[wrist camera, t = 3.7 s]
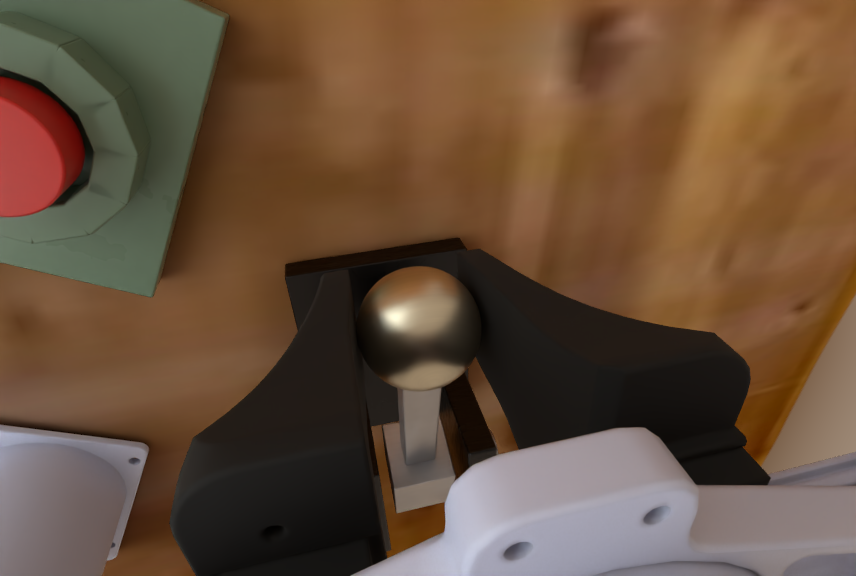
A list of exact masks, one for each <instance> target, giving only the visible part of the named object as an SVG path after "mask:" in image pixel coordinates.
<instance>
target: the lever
mask: <svg viewBox="0 0 856 576" xmlns="http://www.w3.org/2000/svg"><path fill="white" fill-rule="evenodd" d="M481 327H482V326H481V318H480V313H479V310H478V307H477V305H476V302H475V300H474V298H473V297H472V295H471V294H470V292H469V291H468V289H467V288H466V287H465V286H464V285H463V284H462V283H461V282H460V281H459V280H457V279H456V278H455V277H453V276H452V275H450V274H448V273H446V272H444V271H442V270H439V269H436V268H432V267H426V266H414V267H407V268H402V269H399V270H396V271H394V272H392V273H390V274H388V275H386V276H385V277H383V278H382V279H380V280H379V281H378V282H377V283H376V284H375V285H374V286H373V287H372V288H371V289H370V291H369V292H368V293H367V295H366V296H365V298H364V300H363V302H362V304H361V307H360V309H359V313H358V318H357V326H356V330H357V340H358V344H359V348H360V351H361V354H362V356H363V358H364V360H365V361H366V363H367V365H368V366H369V367H370V368H371V370H372V371H373V372H374V373H375V374H376V375H377V376H378V377H379V378H381V379H382V380H383V381H385V382H386V383H388V384H390V385H392V386H394V387H397V390H398V408H399V422H395V423H391V424H386V425H382V431H383V440H384V448H385V456H386V461H387V467H388V472H389V478H390V483H391V489H392V494H393V500H394V505H395V510H396V513H400V512H404V511H408V510H412V509H417V508H421V507H425V506H429V505H434V504H438V503H442V502H446V499H447V496H448V493H449V491H450V488H451V485H452V484H453V483H454V481H455V477H456V474H455V470H454V466H453V462H452V459H451V455H450V451H449V447H448V443H447V440H446V436H445V432H444V428H443V424H442V421H441V417H440V414H439V410H440V398H441V387H444V386H446V385H448V384H450V383H451V382H453V381H454V380H456V379H457V378H458V377H460V376H461V375H462V374H463V373H464V372H465V371H466V369H467V368H468V367H469V366H470V364H471V363H472V361H473V359H474V358H475V356H476V353H477V351H478V348H479V345H480V340H481Z"/></svg>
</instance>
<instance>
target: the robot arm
mask: <svg viewBox="0 0 856 576" xmlns="http://www.w3.org/2000/svg"><path fill="white" fill-rule="evenodd" d="M457 263H458V280H459V281H460V282H461V283H462V284H463V285H464V286H465V287H466V288H467V289H468V291H469V292H470V294H471V295H472V297H473V298H474V300H475V302H476V305H477V307H478V310H479V313H480V318H481V326H482V327H481V340H480V345H479V348H478V351H477V353H476V356H475V357H476V359H477V360H478V362H479V364H480V366H481V368H482V370H483V372H484V374H485V376H486V378H487V380H488V382H489V383H490V385H491V387H492V389H493V391H494V393H495V395H496V397H497V399H498V401H499V403H500V404H501V407H502V409H503V411H504V413H505V415H506V417H507V420H508V422H509V425H510V428H511V430H512V433H513V435H514V438H515V441H516V443H517V446H518V448H519V450H516V451H511V452H507V453H503V454H498V455H496V456H493V457H491V458H488V459H486V460H483V461H481V462H479V463H476V464H474V465H472V466H471V467H470V468H469V469H468V470H467V471H465V472H464V473H463V474H462V475H461V476H460V477H459V478H458V479H457V480H455V481H454V483H453V484H452V485H451V488H450V491H449V493H448V496H447V499H446V502H445V521H446V525H445V531H444V532H443V533H441V534H439V535H436V536H434V537H432V538H430V539H428V540H426V541H424V542H422V543H419V544H417V545H415V546H413V547H411V548H409V549H407V550H404V551H402V552H400V553H398V554H396V555H394V556H392V557H389V558H387V554H386V548H385V542H384V536H383V530H382V524H381V517H380V511H379V505H378V499H377V493H376V487H375V481H374V474H373V468H372V462H371V456H370V450H369V441H368V432H367V415H366V398H365V381H364V365H363V358H362V354H361V351H360V348H359V344H358V340H357V330H356V326H357V320H356V314H355V308H354V301H353V295H352V289H351V283H350V277H349V272H348V270H341V271H335V272H329V273H324V274H323V275H322V277H321V278H320V283H319V287H318V290H317V293H316V295H315V298H314V301H313V303H312V305H311V307H310V309H309V312H308V314H307V316H306V318H305V320H304V322H303V324H302V325H301V327H300V329H299V331H298V332H297V334H296V336H295V338H294V339H293V341H292V343H291V344H290V346H289V347H288V349H287V350H286V352H285V353H284V354H283V356H282V357H281V358H280V360H279V361H278V362H277V364H276V365H275V366H274V367H273V369H272V370H271V371H270V372H269V373H268V375H267V376H266V377H265V378H264V379H263V380H262V381H261V382H260V384H259V385H258V386H257V387H256V388H255V389H253V390H252V391H251V392H250V393H249V394H248V395H247V396H246V397H245V398H244V399H243V400H242V401H240V402H239V403H238V404H237V405H236V406H235V407H234V408H232V409H231V410H230V411H229V412H227V413H226V414H225V415H224V416H222V417H221V418H220V419H218V420H217V421H216V422H214V423H213V424H211V425H210V426H209V427H207V428H206V429H205V430H203V431H202V432H201V433H199V434H198V435H196V436H195V437H194V438H193V440H192V442H191V445H190V447H189V450H188V452H187V455H186V458H185V460H184V463H183V466H182V468H181V471H180V474H179V478H178V481H177V485H176V490H175V495H174V500H173V505H172V510H171V517H170V523H169V524H170V527H171V530H172V533H173V537H174V538H175V540H176V542H177V543H178V545H179V547H180V549H181V550H182V552H183V554H184V556H185V557H186V559H187V561H188V563H189V564H190V566H191V568H192V570H193V571H194V573H195V575H196V576H856V452H853V453H849V454H845V455H842V456H837V457H834V458H829V459H825V460H822V461H818V462H814V463H810V464H806V465H802V466H798V467H794V468H791V469H786V470H783V471H778V472H774V473H770V474H767V473H766V472H765V471H764V470H763V469H762V468H761V467H760V466H759V464H758V463H757V462H756V461H755V460H754V459H753V458H752V457H751V456H750V455H749V454H748V453H747V452H746V450H745V449H744V448H743V447H742V446H745V445H746V442H747V440H746V437H745V436H744V435H743V434H742V433H741V432H740V431H739V430H738V429H737V427H736V426H735V422H736V420H737V418H738V415H739V413H740V410H741V408H742V405H743V403H744V400H745V398H746V395H747V392H748V388H749V384H750V380H751V378H750V368H749V366H748V365H747V363H746V361H745V360H744V359H743V358H742V357H741V356H740V355H739V354H738V353H737V352H735V351H734V350H733V349H732V348H731V347H730V346H729V345H727V344H726V343H725V342H724V341H723V340H722V339H721V338H720V337H718V336H717V335H716V334H715V333H711V332H704V331H697V330H689V329H682V328H675V327H668V326H663V325H658V324H653V323H649V322H644V321H639V320H635V319H631V318H627V317H623V316H620V315H617V314H613V313H610V312H607V311H603V310H600V309H597V308H594V307H591V306H589V305H586V304H583V303H581V302H578V301H576V300H573V299H571V298H568V297H566V296H564V295H561V294H559V293H557V292H555V291H553V290H551V289H549V288H547V287H545V286H543V285H541V284H539V283H537V282H535V281H533V280H532V279H530V278H528V277H526V276H524V275H523V274H521V273H519V272H517V271H516V270H514V269H512V268H511V267H509V266H507V265H506V264H504V263H503V262H501V261H499V260H498V259H496V258H494V257H493V256H491V255H489V254H488V253H486V252H484V251H482V250H481V249H475V250H468V251H462V252H457ZM148 452H149V447H148V446H147V445H146V444H144V443H141V442H134V441H126V440H118V439H110V438H102V437H94V436H86V435H79V434H71V433H63V432H55V431H47V430H39V429H31V428H23V427H15V426H7V425H0V576H102V574H103V571H104V568H105V564H106V561H107V560H112V559H114V558H115V557H116V556H117V554H118V551H119V548H120V544H121V541H122V538H123V534H124V531H125V528H126V525H127V521H128V518H129V515H130V511H131V508H132V505H133V501H134V498H135V495H136V492H137V488H138V485H139V482H140V478H141V475H142V472H143V468H144V465H145V462H146V459H147V455H148ZM135 458H137V459H135Z"/></svg>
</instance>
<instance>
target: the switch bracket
mask: <svg viewBox="0 0 856 576" xmlns="http://www.w3.org/2000/svg"><path fill="white" fill-rule="evenodd" d="M462 251H467V249H466V247H465V246H464V244H463V242H462V241H461V239H460V238H453V239H446V240H440V241H433V242H427V243H420V244H414V245H407V246H401V247H394V248H387V249H381V250H374V251H368V252H361V253H355V254H348V255H342V256H335V257H329V258H322V259H316V260H309V261H303V262H296V263H290V264H286V265H285V280H286V284H287V288H288V292H289V296H290V300H291V305H292V309H293V313H294V317H295V321H296V325H297V329H298V331H299V329H300V327H301V325H302V324H303V322H304V320H305V318H306V316H307V314H308V312H309V309H310V307H311V305H312V303H313V301H314V298H315V295H316V293H317V290H318V287H319V283H320V278H321V277H322V275H323V274H324V273H329V272H335V271H341V270H348V272H349V277H350V283H351V289H352V295H353V301H354V308H355V314H356V320H357V318H358V313H359V309H360V307H361V304H362V302H363V300H364V298H365V296H366V295H367V293H368V292H369V291H370V289H371V288H372V287H373V286H374V285H375V284H376V283H377V282H378V281H379V280H380V279H382V278H383V277H385V276H386V275H388V274H390V273H392V272H394V271H396V270H399V269H402V268H407V267H414V266H426V267H432V268H436V269H439V270H442V271H444V272H446V273H448V274H450V275H452V276H453V277H455V278H456V279H457V280H458V263H457V252H462ZM362 358H363V356H362ZM363 365H364V381H365V398H366V415H367V432H368V441H369V450H370V456H371V462H372V468H373V474H374V481H375V487H376V493H377V499H378V505H379V511H380V517H381V524H382V530H383V536H384V542H385V548H386V551H389V550H391V544H390V538H389V532H388V526H387V520H386V514H385V508H384V502H383V495H382V489H381V483H380V477H379V471H378V465H377V460H376V454H375V448H374V442H373V436H372V430H371V427H372V426H376V425H381V424H386V423H391V422H396V421H399V408H398V390H397V387H394V386H392V385H390V384H388V383H386V382H385V381H383V380H382V379H381V378H379V377H378V376H377V375H376V374H375V373H374V372H373V371H372V370H371V368H370V367H369V366H368V365H367V363H366V361H365V360H364V358H363ZM439 414H440V417H441V421H442V424H443V428H444V432H445V436H446V440H447V443H448V447H449V451H450V455H451V459H452V462H453V466H454V470H455V474H456V477H455V480H457V479H458V478H459V477H460V476H461V475H462V474H463V473H464V472H465V471H467V470H468V469H469V468H470V467H471V466H472V465H474V464H476V463H479V462H481V461H483V460H486V459H488V458H491V457H493V456H496V455H498V449H497V444H496V441H495V438H494V435H493V433H492V432H491V430H490V429H489V428H488V426H487V424H486V421H485V419H484V417H483V414H482V412H481V410H480V407H479V405H478V402H477V400H476V398H475V395H474V393H473V391H472V388H471V386H470V384H469V381H468V368H467V369H466V371H465V372H464V373H463V374H462V375H461V376H460V377H458V378H457V379H456V380H454V381H453V382H451V383H450V384H448V385H446V386H444V387H441V398H440V410H439Z"/></svg>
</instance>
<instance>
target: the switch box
mask: <svg viewBox="0 0 856 576" xmlns="http://www.w3.org/2000/svg"><path fill="white" fill-rule="evenodd" d="M228 21H229V15H228V14H227V13H225V12H223V11H220V10H218V9H216V8H214V7H212V6H210V5H207V4H205V3H203V2H201V1H199V0H0V76H2V77H7V78H12V79H16V80H19V81H22V82H24V83H27V84H29V85H32V86H34V87H35V88H37V89H39V90H41V91H43V92H44V93H46V94H47V95H49V96H50V97H51V98H53V99H54V100H55V101H56V102H58V103H59V104H60V105H61V106H62V107H63V108H64V109H65V110H66V111H67V113H68V114H69V115H70V116H71V118H72V119H73V121H74V122H75V124H76V125H77V127H78V129H79V131H80V134H81V136H82V139H83V143H84V147H85V161H84V165H83V169H82V171H81V173H80V175H79V177H78V178H77V179H76V181H75V182H74V183H73V184H72V185H71V186H70V187H69V188H68V189H67V190H66V191H65V192H64V193H63V194H62V195H61V196H60V197H59V198H58V199H57V200H56V201H55V202H54V203H53V204H52V205H50V206H49V207H48V208H46V209H44V210H42V211H40V212H38V213H35V214H32V215H27V216H22V217H0V262H1V263H5V264H9V265H13V266H18V267H22V268H26V269H31V270H35V271H39V272H44V273H48V274H52V275H57V276H61V277H65V278H70V279H74V280H78V281H82V282H87V283H91V284H95V285H100V286H104V287H108V288H113V289H117V290H121V291H126V292H130V293H134V294H139V295H143V296H147V297H153V296H154V294H155V291H156V289H157V286H158V284H159V282H160V279H161V275H162V271H163V267H164V263H165V260H166V256H167V252H168V248H169V244H170V241H171V237H172V233H173V229H174V225H175V222H176V218H177V214H178V210H179V207H180V203H181V199H182V195H183V191H184V188H185V184H186V180H187V176H188V172H189V169H190V165H191V161H192V157H193V153H194V150H195V146H196V142H197V138H198V135H199V131H200V127H201V123H202V119H203V116H204V112H205V108H206V104H207V100H208V97H209V93H210V89H211V85H212V81H213V78H214V74H215V70H216V66H217V63H218V59H219V55H220V51H221V47H222V44H223V40H224V36H225V32H226V28H227V25H228Z"/></svg>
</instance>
